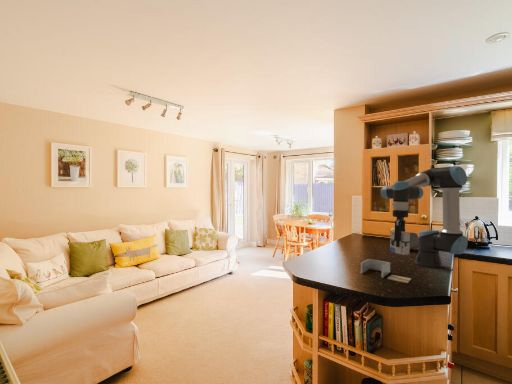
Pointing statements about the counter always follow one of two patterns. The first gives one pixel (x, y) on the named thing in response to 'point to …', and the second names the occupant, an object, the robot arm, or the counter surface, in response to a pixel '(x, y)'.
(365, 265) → the cradle
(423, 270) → the counter surface
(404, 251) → the ink box
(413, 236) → the bowl
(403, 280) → the pad
